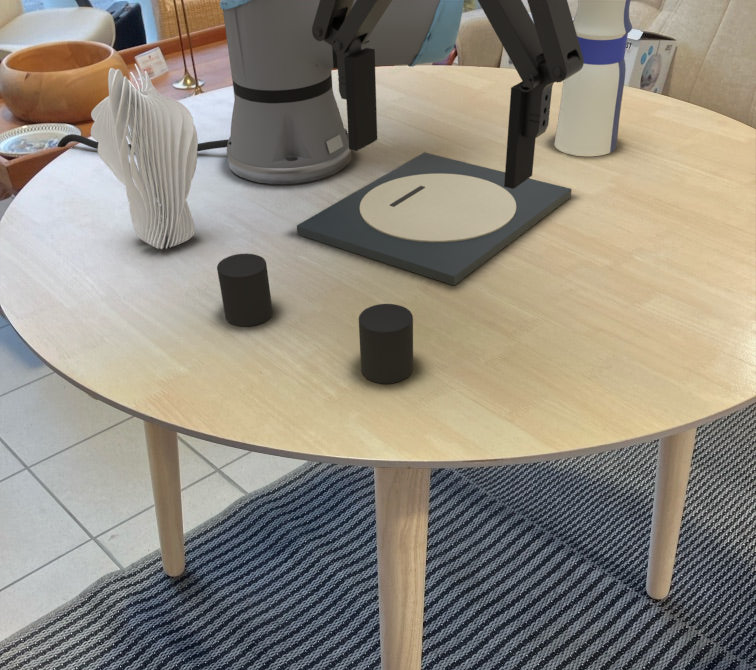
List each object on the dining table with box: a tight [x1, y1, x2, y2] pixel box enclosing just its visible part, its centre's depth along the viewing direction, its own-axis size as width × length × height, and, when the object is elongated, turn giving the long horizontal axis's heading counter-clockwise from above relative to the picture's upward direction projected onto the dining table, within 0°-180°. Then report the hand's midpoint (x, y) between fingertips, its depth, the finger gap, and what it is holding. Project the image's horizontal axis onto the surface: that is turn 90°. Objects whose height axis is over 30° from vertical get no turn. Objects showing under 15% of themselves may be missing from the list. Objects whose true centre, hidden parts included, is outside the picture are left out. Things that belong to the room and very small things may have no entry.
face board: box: [296, 151, 573, 286], centre depth 93 cm, size 20×24×1 cm
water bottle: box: [553, 0, 633, 157], centre depth 99 cm, size 8×9×25 cm
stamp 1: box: [216, 253, 273, 327], centre depth 78 cm, size 4×4×5 cm
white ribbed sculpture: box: [90, 63, 199, 250], centre depth 85 cm, size 8×8×18 cm
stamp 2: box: [358, 303, 414, 385], centre depth 71 cm, size 4×4×5 cm
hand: (437, 162), depth 63 cm, fingers open, 13 cm apart
